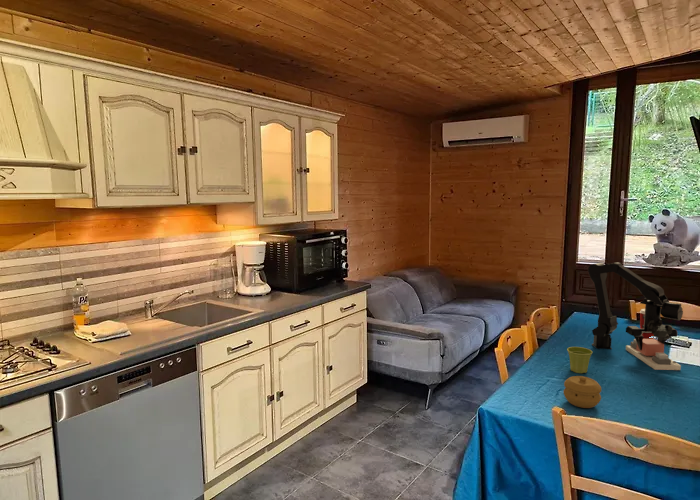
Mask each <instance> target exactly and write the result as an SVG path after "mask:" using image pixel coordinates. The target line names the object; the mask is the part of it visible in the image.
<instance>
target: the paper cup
mask: <svg viewBox="0 0 700 500" xmlns="http://www.w3.org/2000/svg"><path fill="white" fill-rule="evenodd" d="M639 313H640V314H639V318H640V319H639V328H640V329H644V328H643V327H642V325H644V318H643V316H645V308H641V309H640V311H639ZM642 336H644V338H643V339H655V338H654V337H655V336H654V335H653V333H642ZM651 336H654V337H653V338H649V337H651Z"/></svg>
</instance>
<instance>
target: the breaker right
mask: <svg viewBox="0 0 700 500" xmlns="http://www.w3.org/2000/svg"><path fill="white" fill-rule="evenodd" d="M655 357H657V358H658V359H668V358H669V355H668V354H666V353H665V352H664V353H656V356H655Z"/></svg>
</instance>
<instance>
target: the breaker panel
mask: <svg viewBox="0 0 700 500" xmlns="http://www.w3.org/2000/svg"><path fill="white" fill-rule="evenodd" d="M633 342H634V341H630V344H629V345H625V351H627V352H628V353H630V354H631V355H633V356H635V357H636V358H637V359H639V360H640V361H641V362H643V363H644V364H646V365H647V366H648V367H650V368H652V369H653V370H656V371H657V370H660V371H661V370H662V371H663V370H665V371H681V367H682V365H681V364H679V363H678V362H676V360H673V359H671V358H670V357H668V359H658V358H657V357H655V356H645V355H644V354H642V353H641V352H639V351H638V350H636V347H637V345H636V344H635V343H633Z"/></svg>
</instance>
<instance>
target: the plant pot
mask: <svg viewBox="0 0 700 500" xmlns="http://www.w3.org/2000/svg"><path fill="white" fill-rule="evenodd" d="M566 350H567V352H568V357H569V365H570V366H569V367H570V371H571V372H573V373H576V374H584V373H585V374H587V372H588V370H589V369H588V368H589V363H590V359H591V356H592V354H593V351H592V350H591V349H589V348H586V347H583V346H582V347H581V346H570V347H567V349H566Z"/></svg>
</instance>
